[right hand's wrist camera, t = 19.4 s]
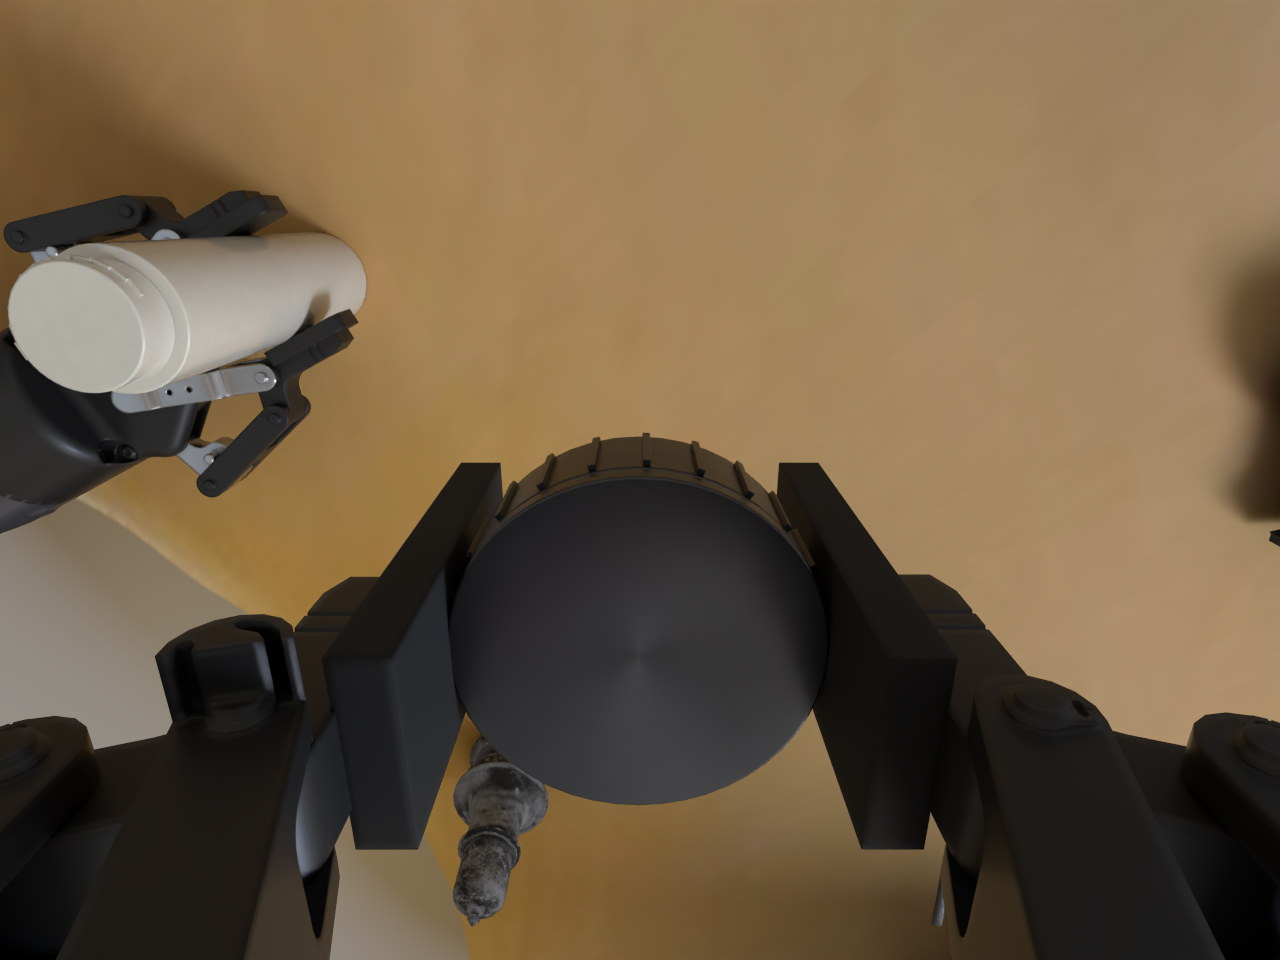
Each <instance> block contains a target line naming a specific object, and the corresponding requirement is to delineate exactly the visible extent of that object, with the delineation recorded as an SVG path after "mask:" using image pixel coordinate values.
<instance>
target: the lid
mask: <svg viewBox="0 0 1280 960" xmlns="http://www.w3.org/2000/svg"><path fill="white" fill-rule="evenodd" d="M465 557H467V558H469V559H470V561H469V563H468V565H467V567H466V569H465V571H464V573H463V576H462V578H461V580H460V582H459V584H458V587H457V589H456V591H455V595H454V598H453V602H452V605H451V609H450V613H449V621H448V631H449V642H450V652H451V661H452V671H453V679H454V685H455V688H456V691H457V693H458V696H459V699H460V701H461V703H462V705H463V706H464V708H465V710H466V712H467V714H468V716H469V718H470V719H471V721H472V722H473V723H474V725H475V726H476V728H477V729H478V731H479V732H480V733H481V735H482V736H483V737H484V738H485V739H486V740H487V741H488V742H489V743H490V745H491V746H492V747H493V748H494V749H495V750H496V751H497V752H498V753H500V754H501V755H502V756H503V757H504V758H505V759H507V760H508V761H509V762H510V763H511V764H513V765H514V766H516V767H517V768H519V769H520V770H522V771H523V772H525V773H526V774H528V775H529V776H531V777H533V778H535V779H536V780H538V781H540V782H542V783H544V784H546V785H548V786H550V787H553V788H555V789H558V790H561V791H563V792H566V793H568V794H571V795H575V796H578V797H582V798H586V799H590V800H594V801H600V802H607V803H613V804H628V805H649V804H664V803H670V802H676V801H683V800H687V799H691V798H695V797H698V796H702V795H706V794H708V793H711V792H714V791H716V790H719V789H721V788H724V787H727V786H729V785H731V784H733V783H735V782H736V781H738V780H740V779H742V778H744V777H746V776H748V775H749V774H751V773H752V772H754V771H755V770H757V769H758V768H760V767H761V766H763V765H764V764H766V763H767V762H768V761H769V760H770V759H771V758H772V757H774V756H775V755H776V754H777V753H778V752H779V751H781V750H782V749H783V748H784V746H785V745H786V744H787V743H788V742H789V741H790V740H791V739H792V738H793V737H794V735H795V734H796V733H797V732H798V730H799V729H800V727H801V726H802V724H803V723H804V722H805V720H806V719H807V717H808V716H809V714H810V712H811V710H812V708H813V706H814V704H815V702H816V700H817V698H818V696H819V693H820V690H821V687H822V684H823V681H824V678H825V674H826V668H827V662H828V655H829V634H830V633H829V625H828V617H827V610H826V607H825V604H824V600H823V597H822V593H821V590H820V588H819V585H818V583H817V581H816V579H815V577H814V575H813V573H812V572H814V571H816V570H817V567H816V565H815V563H814V561H813V559H812V557H811V555H810V553H809V551H808V549H807V547H806V545H805V543H804V541H803V539H802V537H801V535H800V533H799V531H798V529H797V528H795V529H793V530H792V526H791V524H790V522H789V520H788V518H787V516H786V514H785V512H784V509H783V507H782V505H781V503H780V501H779V499H778V497H777V495H776V494H775V493H774V491H771V492H770V493H768V492H767V491H766V490H765V489H764V488H763V487H762V486H761V485H760V484H759V483H758V482H757V481H756V480H755V479H753V478H752V477H751V476H750V475H749V474H748V473H746V472H745V469H744V467H743V465H742V463H740V462H739V461H736V462H735V464H733V463H732V462H730V461H728V460H727V459H725V458H723V457H721V456H719V455H717V454H714V453H712V452H710V451H708V450H706V449H703V448H700V446H699V442H696V441H692V443H691V444H688V443H684V442H679V441H674V440H669V439H664V438H652V437H650V433H643V437H625V438H613V439H608V440H603V441H601V440H600V437H596V438H593V440H592V443H589V444H586V445H583V446H580V447H577V448H574V449H571V450H569V451H567V452H564V453H562V454H560V455H558V456H556V457H555V455H554V454H553V453H552V454H550V455H548V456H547V458H546V461H545V463H544V464H542V465H541V466H539V467H538V468H536V469H535V470H533V471H532V472H530V473H529V474H528V475H527V476H526V477H525V478H523V479H522V480H521V481H520V482H519V483H517V482H515V481H513V482H512V483H511V484H510V485H509V487H508V489H507V492H506V494H505V496H504V498H503V500H502V501H501V503H500V504H499V506H498V507H497V509H496V511H495V512H494V514H493V515H492V517H491V518H490V517H488V516H486V517H485V519H484V520H483V522H482V524H481V526H480V528H479V530H478V532H477V534H476V536H475V538H474V540H473V542H472V544H471V546H470V548H469V550H468V552H467V554H466V556H465Z"/></svg>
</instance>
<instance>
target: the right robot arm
mask: <svg viewBox="0 0 1280 960" xmlns="http://www.w3.org/2000/svg"><path fill="white" fill-rule="evenodd" d="M777 497H778V499H779V501H780V503H781V505H782V507H783V509H784V512H785V514H786V516H787V518H788V520H789V522H790V524H791V526H792V530H793V529H795V528H797V529H798V531H799V533H800V535H801V537H802V539H803V541H804V543H805V545H806V547H807V549H808V551H809V553H810V555H811V557H812V559H813V561H814V563H815V565H816V567H817V570H816V571H814V572H812V573H813V575H814V577H815V579H816V581H817V583H818V585H819V588H820V590H821V593H822V597H823V600H824V604H825V607H826V610H827V617H828V625H829V633H830V634H829V655H828V662H827V668H826V674H825V678H824V681H823V684H822V687H821V690H820V693H819V696H818V698H817V700H816V702H815V704H814V706H813V711H814V714H815V717H816V720H817V723H818V726H819V729H820V731H821V734H822V737H823V740H824V743H825V746H826V749H827V752H828V754H829V757H830V760H831V763H832V766H833V769H834V772H835V775H836V777H837V780H838V783H839V786H840V789H841V792H842V795H843V798H844V800H845V803H846V806H847V809H848V812H849V815H850V818H851V821H852V823H853V826H854V829H855V832H856V835H857V838H858V841H859V844H860V846H861V849H924V845H925V840H926V834H927V829H928V823H929V817H930V812H931V814H932V816H933V818H934V820H935V822H936V824H937V826H938V828H939V830H940V832H941V834H942V836H943V838H944V840H945V842H946V846H945V851H944V856H943V861H942V866H941V872H940V877H939V882H938V887H937V892H936V898H935V903H934V908H933V915H932V922H931V925H936V926H940V927H941V925H942V920H943V915H944V911H945V917H946V925H947V932H948V940H949V948H950V956H951V960H1280V723H1279V722H1276V721H1273V720H1271V721H1268V719H1266V718H1261V717H1257V716H1249V715H1241V714H1234V713H1218V714H1209V715H1205V716H1203V717H1202V718H1201V719H1199V720H1198V721H1196V722H1195V723H1194V725H1193V728H1192V731H1191V734H1190V737H1189V740H1188V743H1187V747H1186V746H1182V745H1177V744H1172V743H1167V742H1162V741H1157V740H1152V739H1147V738H1142V737H1137V736H1132V735H1127V734H1123V733H1119V732H1115V731H1112V729H1111V727H1110V725H1109V723H1108V721H1107V720H1106V719H1105V717H1104V716H1103V715H1102V714H1101V712H1100V711H1099V710H1098V709H1097V707H1096V706H1095V705H1093V704H1092V703H1090V702H1089V701H1088V700H1086V699H1085V698H1083V697H1082V696H1080V695H1079V694H1078V693H1076V692H1074V691H1072V690H1070V689H1067V688H1065V687H1063V686H1061V685H1058V684H1056V683H1054V682H1051V681H1047V680H1043V679H1039V678H1035V677H1031V676H1027V675H1026V673H1025V672H1024V671H1023V670H1022V669H1021V667H1020V666H1019V665H1018V664H1017V663H1016V661H1015V660H1014V659H1013V658H1012V657H1011V656H1010V654H1009V653H1008V652H1007V651H1006V650H1005V648H1004V647H1003V646H1002V645H1001V644H1000V642H999V641H998V640H997V639H996V638H995V636H994V635H993V634H992V633H991V632H990V630H986V628H985V624H984V623H983V622H982V621H981V620H980V618H979V617H978V616H977V615H976V614H973V613H972V609H971V608H970V607H969V605H968V604H967V603H966V602H965V601H964V599H963V598H962V597H961V596H960V595H959V593H958V592H957V591H956V590H954V589H953V588H951V587H949V586H948V585H946V584H944V583H943V582H941V581H939V580H938V579H936V578H934V577H933V576H931V575H898V574H897V573H896V571H895V570H894V568H893V567H892V566H891V564H890V563H889V561H888V560H887V559H886V557H885V556H884V554H883V553H882V552H881V550H880V549H879V547H878V546H877V545H876V543H875V542H874V540H873V539H872V537H871V536H870V535H869V533H868V532H867V530H866V529H865V528H864V526H863V525H862V523H861V522H860V521H859V519H858V518H857V516H856V515H855V514H854V512H853V511H852V509H851V508H850V507H849V505H848V504H847V502H846V501H845V500H844V498H843V497H842V495H841V494H840V493H839V491H838V490H837V488H836V487H835V486H834V484H833V483H832V481H831V480H830V479H829V477H828V476H827V474H826V473H825V472H824V470H823V469H822V467H821V466H820V465H819V463H779V472H778V487H777ZM502 500H503V493H502V479H501V465H500V463H461V464H460V465H459V467H458V468H457V470H456V471H455V472H454V474H453V475H452V477H451V478H450V479H449V481H448V482H447V484H446V485H445V486H444V488H443V489H442V491H441V492H440V493H439V495H438V496H437V498H436V499H435V500H434V502H433V503H432V505H431V506H430V507H429V509H428V510H427V512H426V513H425V514H424V516H423V517H422V519H421V520H420V521H419V523H418V524H417V526H416V527H415V528H414V530H413V531H412V533H411V534H410V535H409V537H408V538H407V540H406V541H405V542H404V544H403V545H402V547H401V548H400V549H399V551H398V552H397V554H396V555H395V556H394V558H393V559H392V561H391V562H390V563H389V565H388V566H387V568H386V569H385V570H384V572H383V573H382V575H381V576H380V577H349V578H348V579H346V580H345V581H343V582H341V583H340V584H338V585H336V586H335V587H333V588H331V589H330V590H328V591H326V592H325V593H323V595H322V596H321V597H320V598H319V599H318V601H317V602H316V603H315V604H314V605H313V607H312V608H311V609H310V610H309V611H308V616H304V617H303V619H302V620H301V621H300V622H299V623H298V625H297V626H296V627H295V631H294V632H293V628H292V625H290V624H289V623H288V622H286V621H285V620H284V619H282V618H279V617H274V616H270V615H265V614H257V615H239V616H234V617H229V618H224V619H220V620H215V621H212V622H209V623H206V624H204V625H201V626H198V627H196V628H193V629H190V630H188V631H187V632H185V633H183V634H182V635H180V636H178V637H177V638H175V639H173V640H171V641H170V642H168V643H167V644H166V645H165V646H164V647H163V648H162V649H161V650H160V651H159V652H158V654H157V655H156V656H155V659H156V662H157V666H158V670H159V674H160V677H161V681H162V685H163V688H164V692H165V696H166V699H167V703H168V707H169V710H170V714H171V717H172V721H173V722H172V724H171V727H170V729H169V731H168V733H167V734H166V735H162V736H158V737H154V738H150V739H145V740H140V741H135V742H130V743H125V744H120V745H115V746H110V747H105V748H100V749H95V750H94V748H93V745H92V742H91V739H90V736H89V733H88V730H87V727H86V726H85V725H83V724H82V723H81V722H79V721H78V720H77V719H75V718H68V717H59V716H50V717H43V718H35V719H26V720H22V721H17V722H13V724H11V725H9V724H7V725H4V726H1V727H0V960H329V958H330V950H331V942H332V934H333V926H334V918H335V910H336V903H337V895H338V886H339V878H340V876H339V868H338V861H337V856H336V851H335V846H334V845H335V843H336V841H337V839H338V837H339V835H340V833H341V831H342V829H343V827H344V825H345V823H346V820H347V818H348V816H349V814H350V820H351V826H352V831H353V837H354V842H355V848H356V850H358V849H360V850H362V849H364V850H365V849H366V850H367V849H368V850H369V849H418V848H419V845H420V842H421V839H422V837H423V834H424V831H425V828H426V825H427V822H428V819H429V816H430V814H431V811H432V808H433V805H434V802H435V799H436V796H437V793H438V791H439V788H440V785H441V782H442V779H443V776H444V773H445V770H446V768H447V765H448V762H449V759H450V756H451V753H452V750H453V747H454V745H455V742H456V739H457V736H458V733H459V730H460V727H461V724H462V722H463V719H464V716H465V713H466V710H465V708H464V706H463V705H462V703H461V701H460V699H459V696H458V693H457V691H456V688H455V685H454V679H453V671H452V661H451V652H450V642H449V631H448V621H449V613H450V609H451V605H452V602H453V598H454V595H455V591H456V589H457V587H458V584H459V582H460V580H461V578H462V576H463V573H464V571H465V569H466V567H467V565H468V563H469V561H470V559H469V558H467V557H465V556H466V554H467V552H468V550H469V548H470V546H471V544H472V542H473V540H474V538H475V536H476V534H477V532H478V530H479V528H480V526H481V524H482V522H483V520H484V519H485V517H486V516H488V517H490V518H491V517H492V515H493V514H494V512H495V511H496V509H497V507H498V506H499V504H500V503H501V501H502Z"/></svg>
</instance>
